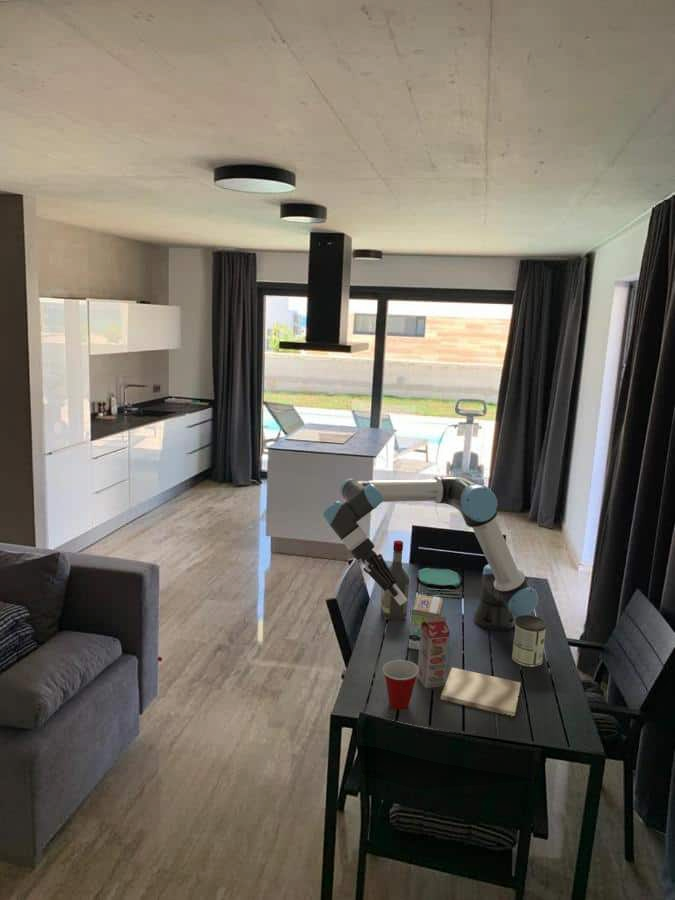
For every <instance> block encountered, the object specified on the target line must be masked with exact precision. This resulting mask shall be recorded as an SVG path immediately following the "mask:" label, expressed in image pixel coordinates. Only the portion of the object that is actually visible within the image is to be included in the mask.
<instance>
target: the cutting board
mask: <svg viewBox="0 0 675 900" xmlns="http://www.w3.org/2000/svg"><path fill="white" fill-rule="evenodd" d="M521 685H522V682H520V681H515V680H510V679H506V678H503V677H497V676H493V675H492V676H491V675H488V674H484V673H479V672H475V671H470V670H465V669H461V668H457V667H451V669H450V672H449V674H448V676H447V678H446V680H445V686H443V689H442V691H441V694H440V700H444V701H447V702H451V703H455V704H459V705H463V706H467V707H471V708H475V709H476V708H477V709H480V710H484V711H488V712H492V713H497V714H500V713H501V715H504V714H507V715H506V716H508V715H511V716H510V717H513V716H516V712H517V706H518V702H519V697H518V696H520V691H521Z"/></svg>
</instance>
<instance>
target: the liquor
mask: <svg viewBox="0 0 675 900" xmlns="http://www.w3.org/2000/svg"><path fill="white" fill-rule="evenodd" d="M392 549H393V552H392V553H393V554H392V562H391V565H390V566H388V568H389V569H390V571H391V572H392V574H393V576H394V577H395V580H397V582H395V584H396V585H397V587H398V588H399V589H400V591H401V592H402V593H403V594H404V596H405V597H406V598H407V601H406V602H405V603H403V604H402V605H399V604H398V602H397V601H396V600H395V598H394V597H393V596H392V595H391V593H390V592H389V591H388V589H387V590H386V591H385V590H383V589H382V588H381V598H380V599H381V601H380V613H381V614H382V615H381V616H382V617H383V619H384V618H386V619H385V620H387V619H388V620H387V621H390V620H391V621H403V620H405V619H406V618H407V616H408V615H407V614H408V602H409V601H408V600H409V590H410V589H409V587H410V577H409V575H408V574H407V572H406V571H405V569H404V568H403V565H402V561H403V558H402V557H403V550H404V541H402V540H394V541H393V548H392ZM395 580H394V581H395Z"/></svg>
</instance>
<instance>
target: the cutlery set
mask: <svg viewBox="0 0 675 900" xmlns="http://www.w3.org/2000/svg"><path fill="white" fill-rule="evenodd" d="M416 578H417V579H418V580H419V581H420V583H422V584H424V585H426V586H427V585H431V586H434V587H441V588H442V587H455V588H458V587H459V586H460V584H461V582H462V577H461V576H460V575H459V573H458V572H456V571H454V570H451V569H448V568H447V569H446V568H435V567H433V568H431V567H425V568H421V569H419V570H418V572H417V574H416ZM426 589H427V590H426V592H425V593H427V594H429V593H430V594H429V595H432V596H433V597H439V598H446V597H449V598H450V599H462V598H463V597H462V595H461V590H456V591H455V590H452V589H448V588H446V589H445V588H443V589H440V588H428V587H427V588H426ZM437 590H440V591H437ZM429 591H435V592H434V593H437V592H438V593H437V594H433V592H429ZM441 592H442V593H443V594H440V593H441ZM445 594H446V595H445ZM448 594H449V595H448ZM449 598H448V599H449Z"/></svg>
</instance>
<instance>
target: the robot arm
mask: <svg viewBox="0 0 675 900" xmlns="http://www.w3.org/2000/svg"><path fill="white" fill-rule="evenodd" d="M339 489H340V490H339V491H340V495H342V498H343V499H344V500H345V502H342V501H340V500H337V501H334V502H333V503H332V504H331V505H329V506H328V507H327V508H326V509H325V510H324V511H323V513H322V516H323V518H324V519H325V521H326V522H327V523H328V525H329V526H330V527H331V529H332V530H333V531H334V533H335V534H336V535H337V537H338V538H339V539H340V540H341V542H342V544H343V545H344V546H346V548H347V549H348V550H351V551H350V553H351V555H352V557H354V559H355V560H356V561H359V560H361V562H362V563H363V565H364V566H365V567H364V568H363V571H364V572H365V573H366V574H368V575H369V576H370V577H371V578H372V580H374V582H375V583H377V585H378V586H379V587H380V588H381V590H382V589H383V590H385V591H386V590H387V589H388V591H389V592H390V593H391V595H392V596H393V597H394V598H395V600H396V601H397V602H398V604H399V605H402V604H403V603H405V602H406V601H407V598H406V597H405V596H404V594H403V593H402V592H401V591H400V589H399V588H398V587H397V585H396V584H395V582H397V580H395V577H394V576H393V574H392V572H391V571H390V569H389V565H388V564H387V562H386V561H385V559H384V558H383V555H382V553H379V554H377V553H376V551H374V550H373V549H374V548H375V544H374V543H373V542H372V540H371V539H370V538H369V537H367V536H368V534H367V533H365V531H364V530H363V528H362V527H361V526H360V525H359V524H358V522H359V521H361V520H362V518H364V517H365V516H367V515H368V514H370V513H371V512H373V510H375V509H377V508H378V506H380V505H381V504H382V503H383V502H384V503H387V502H389V503H390V502H392V503H393V502H394V503H395V502H399V503H400V502H434V503H435V504H443V505H444V504H445V505H449V506H452V507H454V508H455V509H456V510H458V511H459V512H460V514H461V516H462V519H463V520H464V522H465V525H466V526H467V527H469V528H472V530H473V532H474V534H475V537H476V539H477V542H478V543H479V545H480V548H481V550H482V552H483V555H484V557H485V559H486V561H487V563H488V564H486V565H485V566H484V567H483V571H482V577H481V588H480V589H481V590H480V599H479V603H478V604H477V606H476V609H475V611H474V613H473V621H474V622H475V624H476V625H478V626H479V627H482V628H483V629H487V630H491V631H498V632H499V631H500V632H501V631H508V630H511V629H512V628H513V627H515V617H516V618H517V617H518V616H523V615H528V616H530V614H532V613H533V612H534V611H535V610H536V607H537V606H538V603H539V594H538V593H537V591H536V590H535V589H534V588H533V587H531V586H530V584H529V582H528V580H527V577H526V575H525V573H524V572H523V570H519V569H518V567H517V565H516V563H515V560H514V557H513V555H512V553H511V551H510V549H509V546H508V544H507V542H506V539H505V537H504V535H503V532H502V531H501V528H500V526H499V523H498V521H497V519H496V518H497V517H498V513H499V512H498V510H497V508H498V498H497V497H496V495H495V493H494V492H493V491H492V490H491V488H489V487H488V486H486V485H484V484H482V483H480V482H478V481H475V480H474V479H472V478H469V477H467V476H459V475H457V476H456V475H454V476H450V475H449V476H435V477H434V478H433V479H404V480H403V479H402V480H400V479H398V480H397V479H395V480H393V479H391V480H358V479H355V478H352V477H350V478H347V479H344V480H343V481H342V482H341V484H340V488H339ZM394 580H395V581H394Z"/></svg>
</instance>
